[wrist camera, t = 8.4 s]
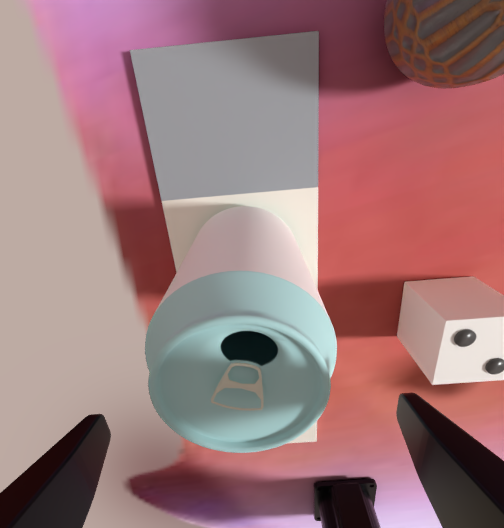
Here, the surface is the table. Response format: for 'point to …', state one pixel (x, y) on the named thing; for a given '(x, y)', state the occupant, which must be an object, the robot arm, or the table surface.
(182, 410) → the can
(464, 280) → the die
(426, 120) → the table surface
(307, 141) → the board
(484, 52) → the vase
